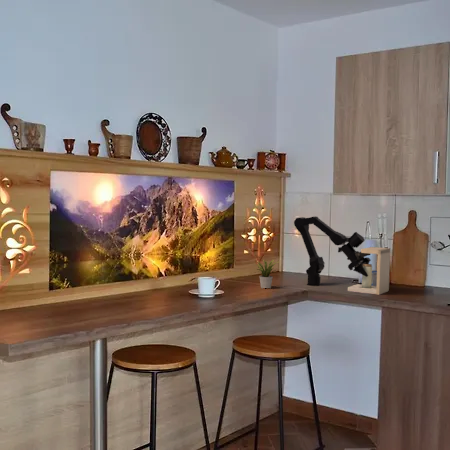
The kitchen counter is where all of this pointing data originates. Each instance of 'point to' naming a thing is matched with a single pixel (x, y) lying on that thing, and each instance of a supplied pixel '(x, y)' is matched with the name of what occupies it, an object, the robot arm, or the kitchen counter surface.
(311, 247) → the robot arm
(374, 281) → the medicine box
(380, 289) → the light wood frame
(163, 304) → the kitchen counter surface
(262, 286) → the house plant
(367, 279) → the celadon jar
